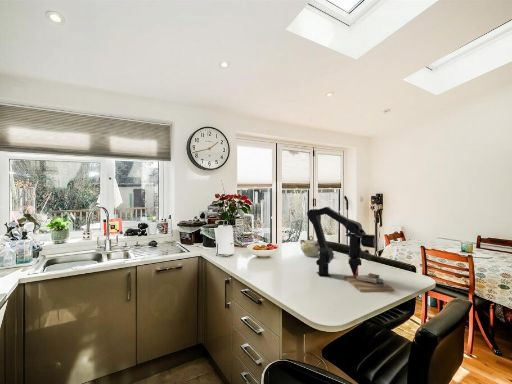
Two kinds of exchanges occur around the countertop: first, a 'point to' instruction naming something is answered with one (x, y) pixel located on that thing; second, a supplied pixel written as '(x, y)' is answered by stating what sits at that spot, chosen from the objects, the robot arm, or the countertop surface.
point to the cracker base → (368, 284)
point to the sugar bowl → (310, 247)
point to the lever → (368, 278)
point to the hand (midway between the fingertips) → (354, 273)
